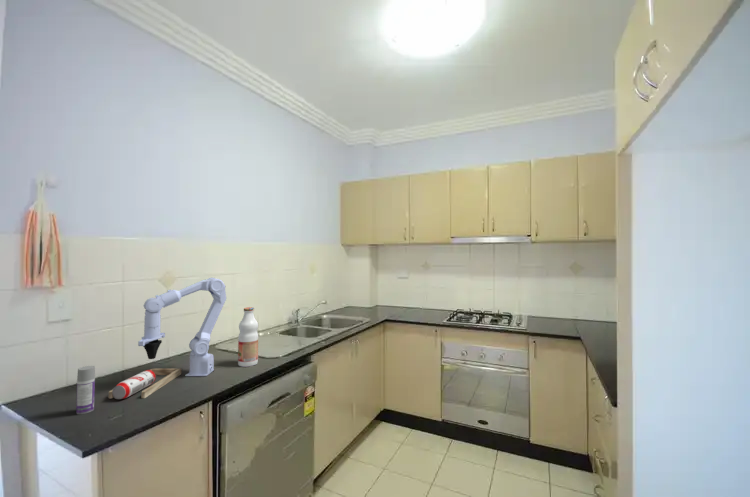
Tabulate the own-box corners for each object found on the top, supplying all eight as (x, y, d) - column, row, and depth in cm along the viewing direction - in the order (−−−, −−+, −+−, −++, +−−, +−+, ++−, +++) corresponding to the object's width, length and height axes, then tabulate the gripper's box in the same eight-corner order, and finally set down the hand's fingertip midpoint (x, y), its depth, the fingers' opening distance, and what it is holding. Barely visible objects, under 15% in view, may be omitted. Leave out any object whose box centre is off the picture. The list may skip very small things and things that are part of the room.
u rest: (181, 374, 150) (181, 368, 150) (144, 398, 125) (144, 391, 125) (151, 374, 150) (151, 368, 150) (108, 398, 125) (108, 391, 125)
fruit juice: (250, 367, 159) (251, 309, 160) (233, 366, 161) (234, 309, 162) (261, 361, 168) (262, 306, 169) (245, 360, 170) (246, 306, 171)
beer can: (155, 385, 139) (125, 402, 123) (141, 382, 139) (109, 399, 123) (158, 370, 139) (128, 385, 123) (144, 367, 139) (112, 382, 123)
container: (83, 408, 117) (84, 365, 117) (97, 407, 117) (98, 365, 117) (72, 414, 112) (73, 370, 112) (87, 414, 112) (88, 370, 113)
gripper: (153, 322, 147) (153, 353, 147) (130, 330, 132) (130, 364, 132) (169, 322, 147) (169, 353, 147) (148, 330, 133) (147, 364, 132)
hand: (151, 358), depth 139 cm, fingers closed
